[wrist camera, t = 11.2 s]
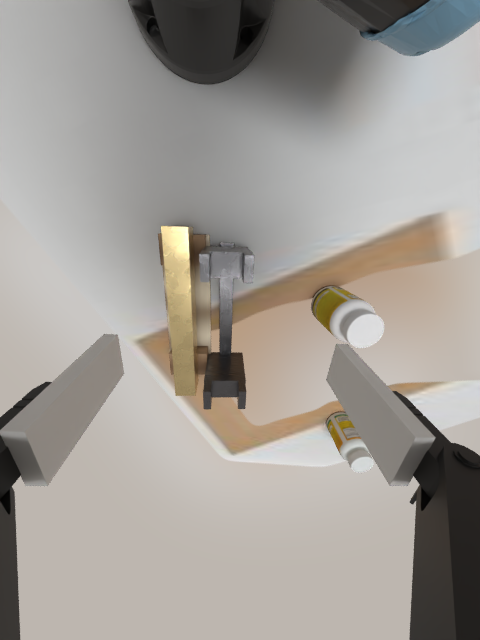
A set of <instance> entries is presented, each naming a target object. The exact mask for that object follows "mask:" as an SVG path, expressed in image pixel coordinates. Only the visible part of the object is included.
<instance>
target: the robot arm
mask: <svg viewBox="0 0 480 640" xmlns="http://www.w3.org/2000/svg"><path fill="white" fill-rule="evenodd" d="M318 1H319V2H320V3H322V4H323V5H325V6H326V7H327V8H329V9H330V10H332V11H333V12H335V13H336V14H337V15H339V16H340V17H342V18H343V19H344V20H346V21H347V22H349V23H350V24H351V25H353V26H354V27H356V28H357V29H359V30H360V34H361V36H362V37H364V38H365V39H367V40H371V41H373V40H378V41H380V42H381V43H383V44H385V45H387V46H388V47H390V48H392V49H393V50H395V51H397V52H399V53H400V54H402V55H406V56H418V55H421V54H424V53H426V52H429V51H430V50H436V49H438V48H440V47H442V46H444V45H446V44H447V43H449V42H451V41H452V40H454V39H455V38H457V37H458V36H460V35H461V34H463V33H464V32H466V31H467V30H468V29H470V28H471V27H472V26H474V25H475V24H476V23H477V22H479V21H480V0H318ZM128 2H129V5H130V7H131V10H132V12H133V14H134V17H135V19H136V21H137V23H138V26H139V28H140V30H141V32H142V34H143V36H144V38H145V40H146V41H147V43H148V45H149V46H150V48H151V49H152V51H153V52H154V53H155V55H156V56H157V57H158V58H159V59H160V60H161V62H162V63H163V64H164V65H166V66H167V67H168V68H169V69H170V70H172V71H173V72H174V73H176V74H177V75H179V76H181V77H183V78H185V79H187V80H189V81H193V82H196V83H203V84H213V83H219V82H222V81H225V80H228V79H230V78H232V77H233V76H235V75H237V74H238V73H239V72H241V71H242V70H243V69H244V68H245V67H246V66H247V65H248V64H249V63H250V62H251V60H252V59H253V58H254V56H255V55H256V53H257V52H258V50H259V48H260V46H261V45H262V42H263V40H264V38H265V35H266V33H267V30H268V27H269V23H270V19H271V15H272V10H273V5H274V0H128ZM123 374H124V370H123V364H122V358H121V351H120V346H119V339H118V335H113V334H104V335H103V336H102V337H101V338H99V339H98V340H97V341H96V342H95V343H94V344H93V345H92V346H91V347H90V348H89V349H88V350H86V351H85V352H84V353H83V354H82V355H81V356H80V357H79V358H78V359H77V360H76V361H75V362H73V363H72V364H71V365H70V366H69V367H68V368H67V369H66V370H65V371H64V372H63V373H62V374H61V375H59V376H58V377H57V378H56V379H55V380H54V381H53V382H45V383H44V384H42V385H40V386H38V387H36V388H34V389H33V390H31V391H30V392H29V393H28V394H27V395H26V396H25V397H23V398H22V400H20V401H19V402H18V403H16V404H15V405H14V406H13V408H11V409H10V410H8V411H7V412H6V413H5V414H4V415H3V416H1V417H0V640H20V623H19V600H18V598H19V597H18V571H17V545H16V521H15V496H14V490H13V488H12V485H13V484H14V483H15V482H16V480H17V479H18V478H19V477H20V476H21V477H22V480H23V482H24V484H25V485H26V486H48V485H49V483H50V482H51V480H52V478H53V477H54V476H55V474H56V473H57V472H58V470H59V469H60V467H61V466H62V464H63V463H64V461H65V460H66V458H67V457H68V455H69V454H70V452H71V451H72V449H73V448H74V446H75V445H76V444H77V442H78V440H79V439H80V438H81V436H82V435H83V433H84V432H85V430H86V429H87V427H88V426H89V424H90V423H91V421H92V420H93V418H94V417H95V416H96V414H97V413H98V411H99V410H100V408H101V407H102V405H103V403H104V402H105V401H106V399H107V398H108V396H109V395H110V393H111V392H112V391H113V389H114V388H115V386H116V385H117V383H118V382H119V380H120V379H121V377H122V376H123ZM326 380H327V382H328V383H329V385H330V387H331V388H332V390H333V392H334V394H335V395H336V397H337V398H338V400H339V402H340V404H341V405H342V407H343V409H344V410H345V412H346V414H347V415H348V417H349V419H350V420H351V422H352V424H353V425H354V427H355V429H356V430H357V432H358V434H359V435H360V437H361V439H362V440H363V442H364V444H365V445H366V447H367V449H368V450H369V452H370V454H371V455H372V457H373V459H374V460H375V462H376V464H377V465H378V467H379V469H380V470H381V472H382V474H383V475H384V477H385V479H386V480H387V482H388V484H389V485H390V486H408V484H409V482H410V481H411V479H412V477H413V476H414V477H415V478H416V480H417V481H418V482H419V484H420V485H419V487H418V489H417V490H416V492H415V493H414V495H413V497H412V498H411V501H410V503H411V504H414V502H415V501H416V519H415V539H414V559H413V580H412V582H413V583H412V600H411V622H410V640H480V456H479V455H478V454H476V453H475V452H474V451H472V450H470V449H468V448H466V447H465V446H462V445H459V444H456V443H451V442H450V441H449V440H448V439H447V438H446V437H445V436H444V435H443V434H442V433H441V432H440V431H439V430H438V429H437V428H436V427H435V426H434V425H433V424H432V423H431V422H430V421H429V420H428V419H427V418H426V417H425V416H423V414H422V413H421V412H420V411H419V410H418V409H416V407H415V406H414V405H413V404H412V403H411V402H410V401H409V400H408V399H407V398H406V397H404V396H403V395H401V394H400V393H398V392H397V391H391V390H390V389H389V387H388V386H387V385H386V384H385V383H384V382H383V381H382V380H381V379H380V378H379V377H378V376H377V375H376V374H375V373H374V372H373V370H372V369H371V368H370V367H369V366H368V365H367V364H366V363H365V362H364V361H363V360H362V359H361V358H360V357H359V356H358V354H357V353H356V352H355V351H354V350H353V349H352V348H351V347H350V346H349V345H348V344H336V346H335V350H334V354H333V358H332V361H331V365H330V368H329V372H328V375H327V379H326Z"/></svg>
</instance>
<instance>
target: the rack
mask: <svg viewBox="0 0 480 640" xmlns="http://www.w3.org/2000/svg"><path fill="white" fill-rule="evenodd" d="M199 262H200V282H209V281H210V278H220V352H217V353H216V352H213V353H212V352H211V354H208V358H207V365H206V372H205V378H204V390H203V401H204V409H211V403H212V397H237V399H238V409H245V403H246V387H245V381H246V380H245V373H244V363H243V355H242V353H231V338H232V337H231V336H232V300H233V278H242V279H243V282H244V283H253V269H254V255H253V253H252V252H251V250H250V249H249V248H248V247H234V243H221V242H220V246H206V247H205V248H204V249H203V250H202V251H201V252H200V253H199Z"/></svg>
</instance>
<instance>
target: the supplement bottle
mask: <svg viewBox="0 0 480 640" xmlns="http://www.w3.org/2000/svg"><path fill="white" fill-rule="evenodd" d="M327 428H328V430H329V432H330V434H331V436H332V438H333V440H334V442H335V445H336V447H337V449H338V451H339V453H340V455H341V456H342V458H343V459H345V460H347V461H348V463H349V465H350V467H351V469H352V470H353V471H355V472H365V471H368V470H369V469H370V468H372V466H373V464H374V461H373V459H372V457H371V455H370V454H369V453H368V452H369V450H368V449H367V447H366V445H365V444H364V442H363V440H362V439H361V437H360V435H359V434H358V432H357V430H356V429H355V427H354V425H353V424H352V422H351V420H350V419H349V417H348V415H347V414H346V413H344V412H338V413H335V414H333V415H331V416H330V417H329V418H328V420H327Z"/></svg>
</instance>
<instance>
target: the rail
mask: <svg viewBox="0 0 480 640" xmlns="http://www.w3.org/2000/svg"><path fill="white" fill-rule="evenodd" d="M161 231H162V242H163V254H164V266H165V277H166V289H167V300H168V312H169V324H170V335H171V347H172V358H173V370H174V381H175V393H176V396H196V390H197V385H198V380H199V379H198V352H197V325H196V299H195V272H194V246H193V227H183V226H161Z"/></svg>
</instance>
